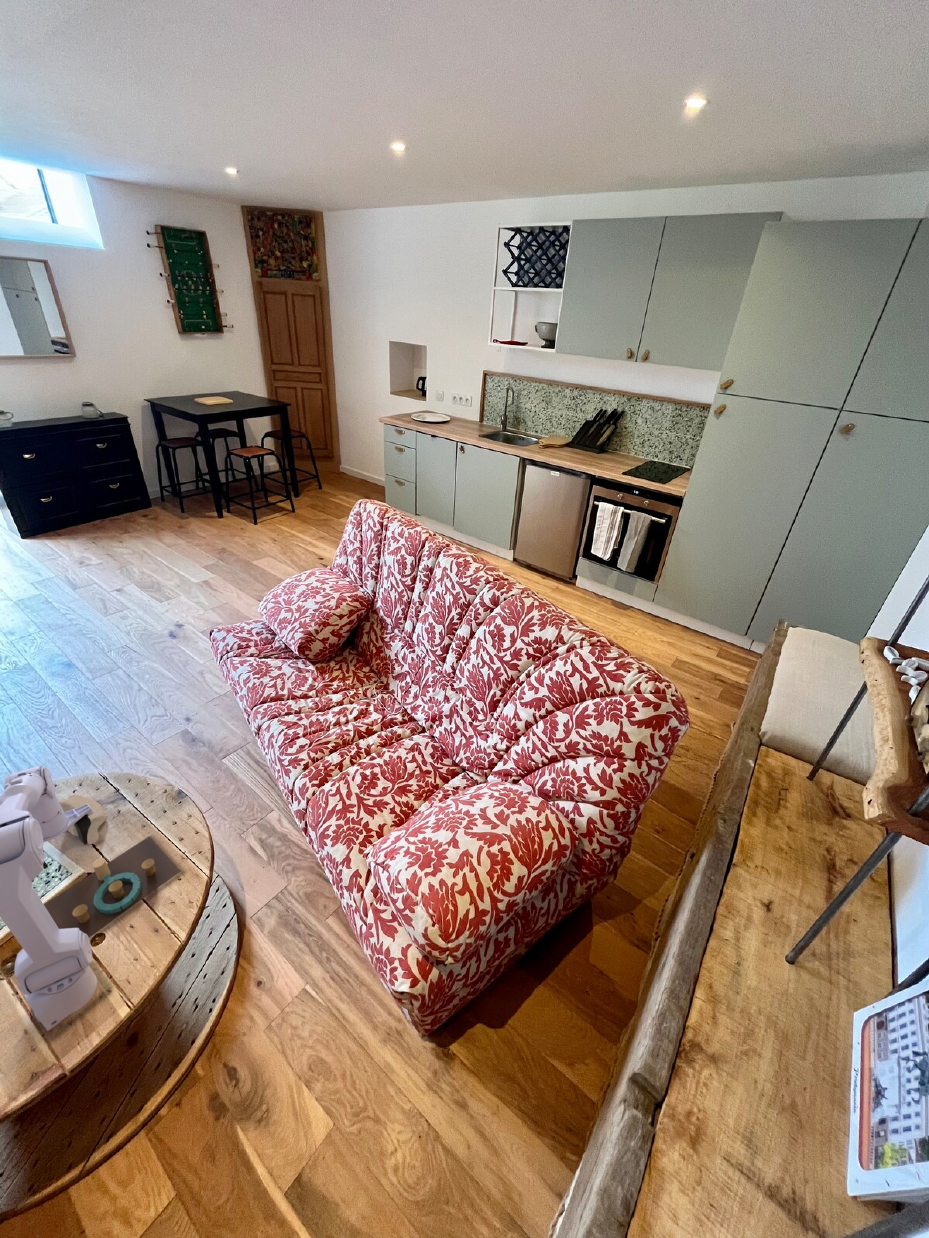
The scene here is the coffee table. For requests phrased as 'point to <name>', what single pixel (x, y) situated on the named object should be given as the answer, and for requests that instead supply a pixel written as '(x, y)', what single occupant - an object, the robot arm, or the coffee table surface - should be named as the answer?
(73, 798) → the decorative stone
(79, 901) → the rack
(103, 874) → the ring
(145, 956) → the coffee table surface
